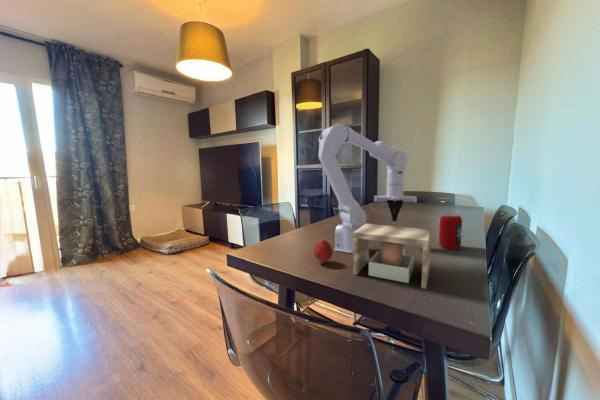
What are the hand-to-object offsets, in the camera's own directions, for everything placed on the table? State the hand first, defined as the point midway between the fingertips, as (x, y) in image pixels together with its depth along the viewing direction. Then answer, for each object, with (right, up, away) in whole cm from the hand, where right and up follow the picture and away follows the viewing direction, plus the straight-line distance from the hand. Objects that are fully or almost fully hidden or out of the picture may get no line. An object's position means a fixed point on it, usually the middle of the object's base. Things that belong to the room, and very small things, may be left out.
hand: (394, 220), depth 92 cm
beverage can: (+19, -10, -3) cm, 21 cm away
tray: (-8, -12, -21) cm, 26 cm away
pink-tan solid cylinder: (-10, -12, -23) cm, 28 cm away
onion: (-28, -12, -14) cm, 34 cm away
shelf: (-10, -13, -23) cm, 28 cm away
